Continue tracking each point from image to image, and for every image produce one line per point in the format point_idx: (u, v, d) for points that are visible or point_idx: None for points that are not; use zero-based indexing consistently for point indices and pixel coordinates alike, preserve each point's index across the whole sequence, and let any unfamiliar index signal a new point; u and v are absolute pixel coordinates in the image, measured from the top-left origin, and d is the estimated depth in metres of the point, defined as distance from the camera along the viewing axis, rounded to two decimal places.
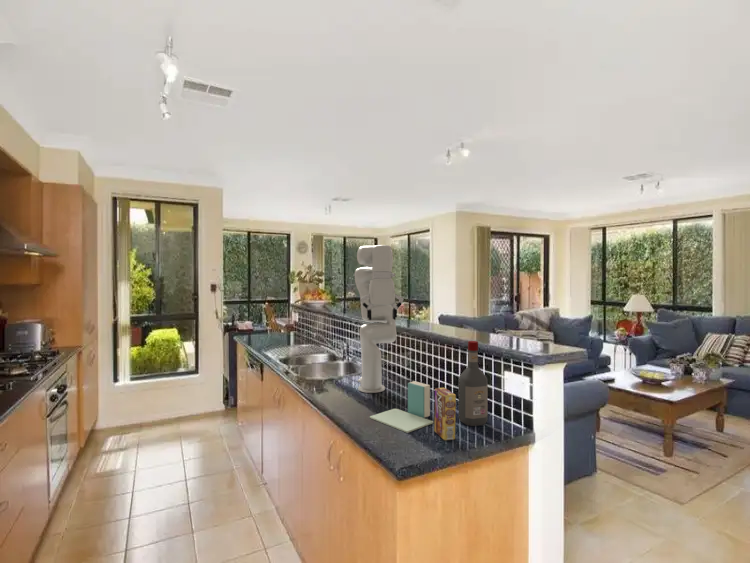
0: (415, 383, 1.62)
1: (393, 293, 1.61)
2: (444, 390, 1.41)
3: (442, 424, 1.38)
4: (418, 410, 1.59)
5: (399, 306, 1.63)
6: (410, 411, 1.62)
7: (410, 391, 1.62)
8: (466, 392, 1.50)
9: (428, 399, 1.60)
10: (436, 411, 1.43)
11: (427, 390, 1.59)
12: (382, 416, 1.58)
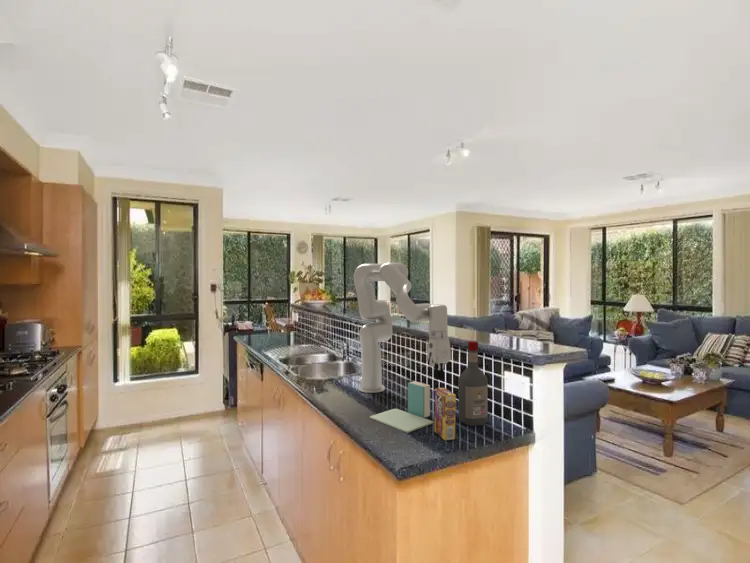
0: (415, 383, 1.62)
1: None
2: (444, 390, 1.41)
3: (442, 424, 1.38)
4: (418, 410, 1.59)
5: (433, 367, 1.68)
6: (410, 411, 1.62)
7: (410, 391, 1.62)
8: (466, 392, 1.50)
9: (428, 399, 1.60)
10: (436, 411, 1.43)
11: (427, 390, 1.59)
12: (382, 416, 1.58)
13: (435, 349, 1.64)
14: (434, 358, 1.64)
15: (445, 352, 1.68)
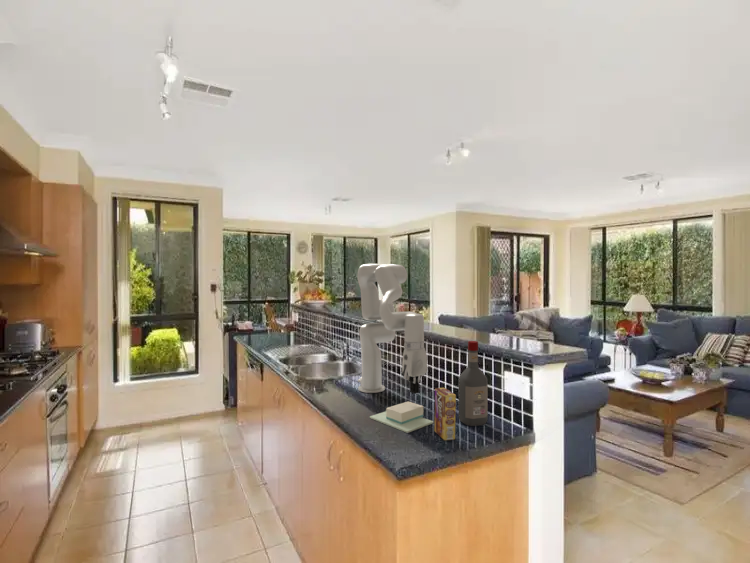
0: (391, 417, 1.53)
1: None
2: (444, 390, 1.41)
3: (442, 424, 1.38)
4: None
5: (408, 380, 1.59)
6: None
7: None
8: (466, 392, 1.50)
9: (411, 411, 1.53)
10: (436, 411, 1.43)
11: (404, 415, 1.51)
12: (382, 416, 1.58)
13: (410, 361, 1.55)
14: (409, 371, 1.55)
15: (421, 364, 1.58)
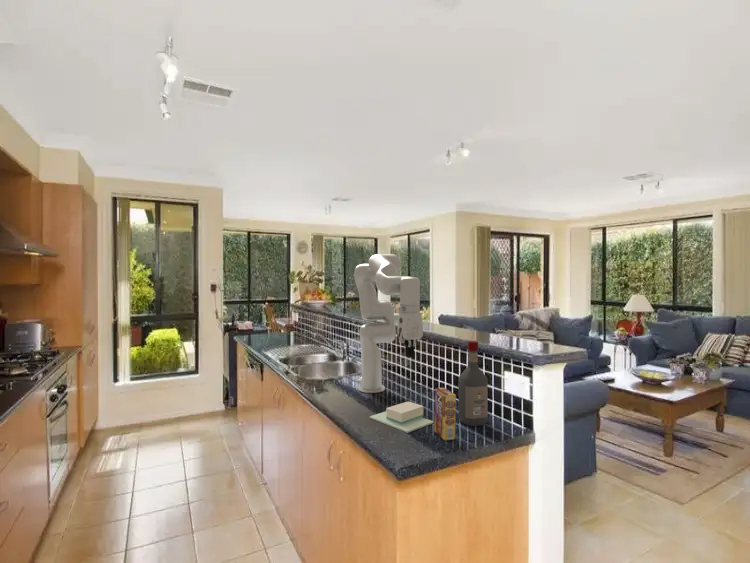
0: (391, 417, 1.53)
1: None
2: (444, 390, 1.41)
3: (442, 424, 1.38)
4: None
5: None
6: None
7: None
8: (466, 392, 1.50)
9: (411, 411, 1.53)
10: (436, 411, 1.43)
11: (404, 415, 1.51)
12: (382, 416, 1.58)
13: (405, 324, 1.53)
14: (404, 334, 1.53)
15: (416, 328, 1.56)
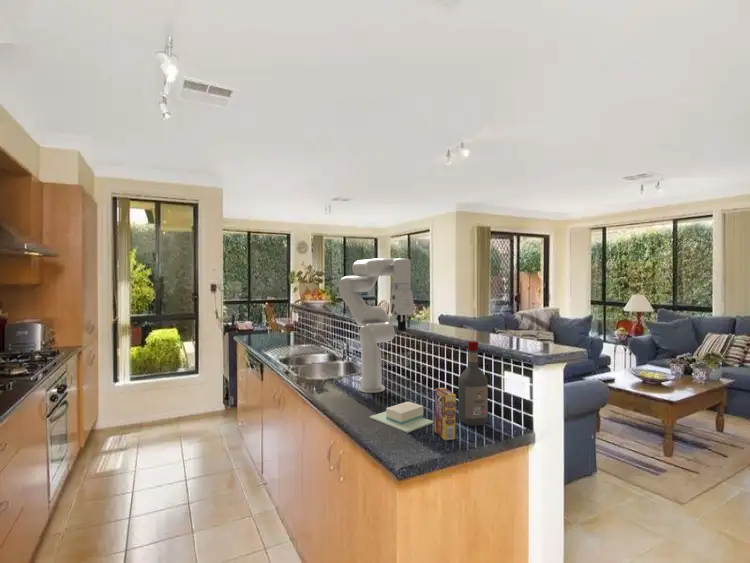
0: (391, 417, 1.53)
1: None
2: (444, 390, 1.41)
3: (442, 424, 1.38)
4: None
5: (396, 318, 1.74)
6: None
7: None
8: (466, 392, 1.50)
9: (411, 411, 1.53)
10: (436, 411, 1.43)
11: (404, 415, 1.51)
12: (382, 416, 1.58)
13: (397, 300, 1.70)
14: (396, 309, 1.70)
15: (408, 304, 1.73)
